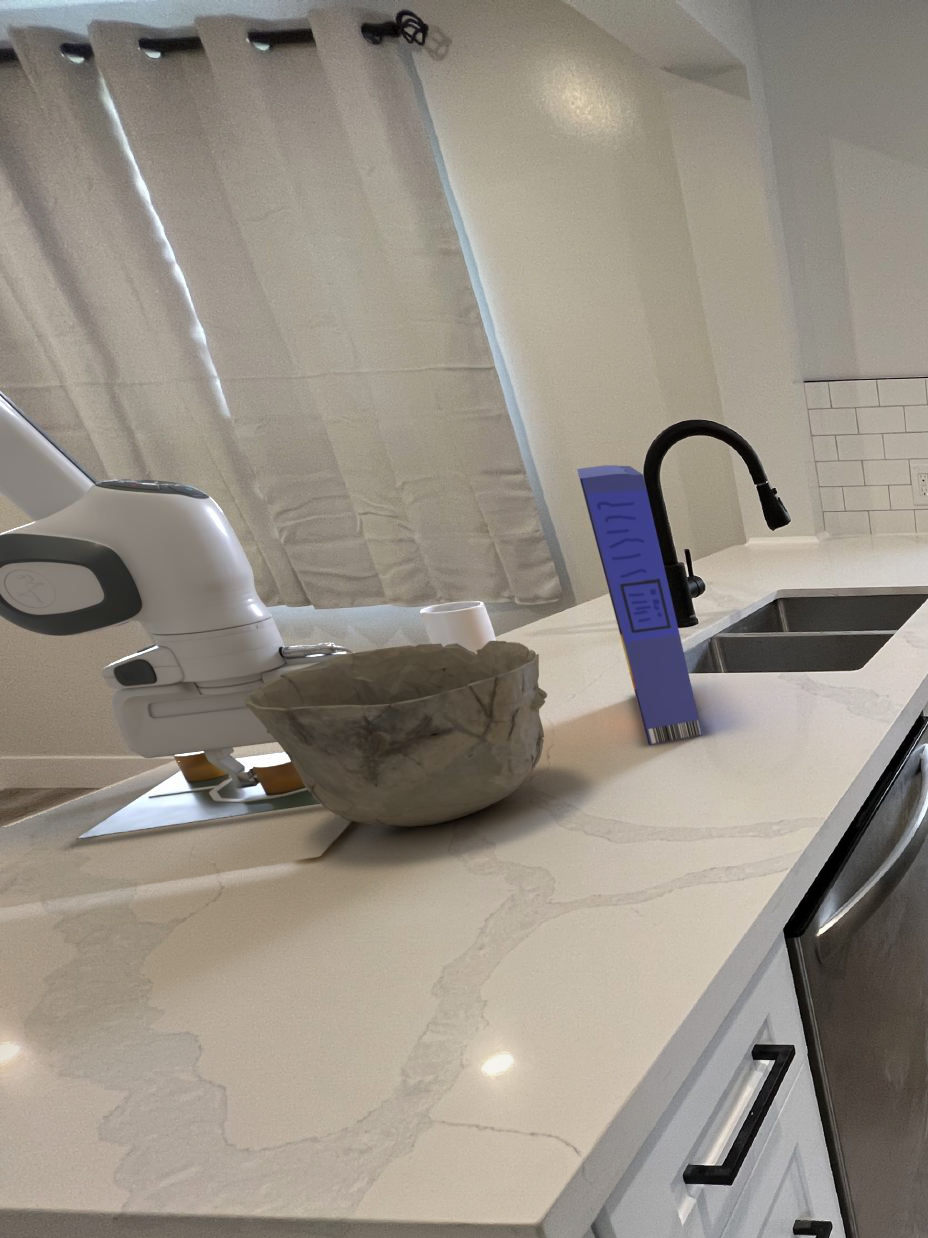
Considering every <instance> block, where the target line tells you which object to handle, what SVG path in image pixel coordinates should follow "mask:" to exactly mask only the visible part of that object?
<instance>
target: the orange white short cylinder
mask: <svg viewBox="0 0 928 1238" xmlns="http://www.w3.org/2000/svg"><path fill="white" fill-rule="evenodd" d="M252 766H253V769H254V771H255V773H256V775H257V777H258V779H259V781H260V783H261V785H262V788H263V790H264V792H265V793H270V794H274V793H283V792H288V791H293V790H296V789H299V788H302V787H304V786H305V785H304V784H303V782H302V779H301V777H300V775H299V774H298V772H297V771H296V769H295V767H294V766H293V764H292V763H291V761H290V758H289V757H288V755H287V754H280V755H275V756H271V757H267V758H264V759H261V760H259V761H257V762H255V763H254V764H253V765H252Z"/></svg>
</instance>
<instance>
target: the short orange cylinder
mask: <svg viewBox="0 0 928 1238" xmlns="http://www.w3.org/2000/svg"><path fill="white" fill-rule="evenodd" d="M172 757H173V758H174V760H175V762H176V764H177V767H178V768H179V771H181V772H182V774H183V776H184V778H185V780H186V781H203V780H209V779H213V778H217V777H220V776H223V775H226V774H227V773H225V772H224V771H222V770H221V769H219V768H218V767H216V766H215V765H213V764H212V763H210V762H209V761H208V760H207V758H206V756H205V754H204V752H203V751H202V752H195V753H187V754H179V755H172ZM178 761H180V762H178Z"/></svg>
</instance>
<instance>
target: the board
mask: <svg viewBox="0 0 928 1238" xmlns="http://www.w3.org/2000/svg"><path fill="white" fill-rule="evenodd" d="M280 754H286V753H285V751H284V752H277V753H267V754H260V755H253V756H252V755H251V756H245V757H237V758H235V759H236V760H237V761H239V762H240V763H241V764H242V765H244V766H245V767H251V766H252V765H253V764H254V763H255V762H257V761H259V760H261V759H264V758H267V757H271V756H275V755H280ZM314 805H321V804H320V803H319V802H318V801H317V800H316V799H315V798H314V797H313V796H312V794H310V793H309V791H308V790H307V788H306V787H305V786H304V787H302V788H299V789H296V790H293V791H288V792H283V793H274V794H270V793H265V792H264V790H263V788H262V785H261V783H259V784H257V786H253V787H247V788H239V789H238V788H237V787H236V786H235V784H234V782H233V780H232V778H231V776H230V774H226V775H223V776H220V777H217V778H213V779H209V780H203V781H186V780H185V778H184V776H183V774H182V772H181V770H179V771H178V772H176V773H175V774H173V775H171V776H170V777H168V778H167V779H165V780H164V781H162V782H161V783H159V784H157V785H155V786H154V787H153V788H152V789H150V790H149V791H147V792H145V793H144V794H142V795H141V796H140V797H137V798H136V799H135V800H133V801H132V802H130V803H129V804H126V805H125V806H124V807H122V808H121V809H119V810H118V811H116V812H115V813H113V814H112V815H110V816H109V817H107V818H106V819H104V820H103V821H101V822H100V823H98V824H96V825H95V826H93V827H92V828H90V829H88V830H87V831H85V832H84V833H83V834H81V835H80V836H78V837H76V840H82V839H89V838H96V837H101V836H102V837H103V836H109V835H115V834H122V833H128V832H129V833H130V832H136V831H144V830H149V829H156V828H164V827H171V826H177V825H184V824H191V823H198V822H204V821H211V820H218V819H226V818H233V817H239V816H246V815H247V816H248V815H253V814H260V813H267V812H274V811H280V810H288V809H294V808H300V807H307V806H314Z"/></svg>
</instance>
